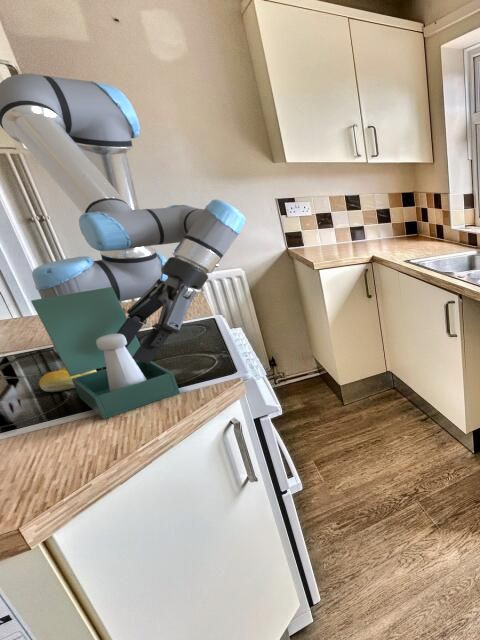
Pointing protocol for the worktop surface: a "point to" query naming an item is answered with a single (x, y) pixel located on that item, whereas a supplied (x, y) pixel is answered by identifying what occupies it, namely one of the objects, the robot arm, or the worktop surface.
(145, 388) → the box
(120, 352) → the salt shaker
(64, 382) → the yellow rounded piece
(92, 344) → the box lid
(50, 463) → the worktop surface
